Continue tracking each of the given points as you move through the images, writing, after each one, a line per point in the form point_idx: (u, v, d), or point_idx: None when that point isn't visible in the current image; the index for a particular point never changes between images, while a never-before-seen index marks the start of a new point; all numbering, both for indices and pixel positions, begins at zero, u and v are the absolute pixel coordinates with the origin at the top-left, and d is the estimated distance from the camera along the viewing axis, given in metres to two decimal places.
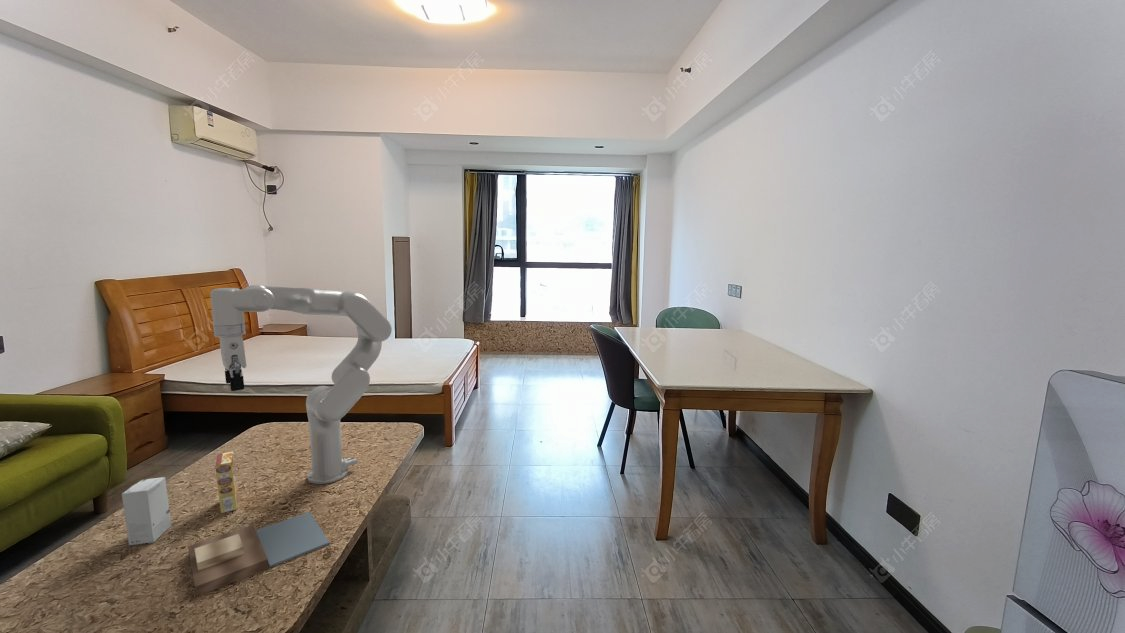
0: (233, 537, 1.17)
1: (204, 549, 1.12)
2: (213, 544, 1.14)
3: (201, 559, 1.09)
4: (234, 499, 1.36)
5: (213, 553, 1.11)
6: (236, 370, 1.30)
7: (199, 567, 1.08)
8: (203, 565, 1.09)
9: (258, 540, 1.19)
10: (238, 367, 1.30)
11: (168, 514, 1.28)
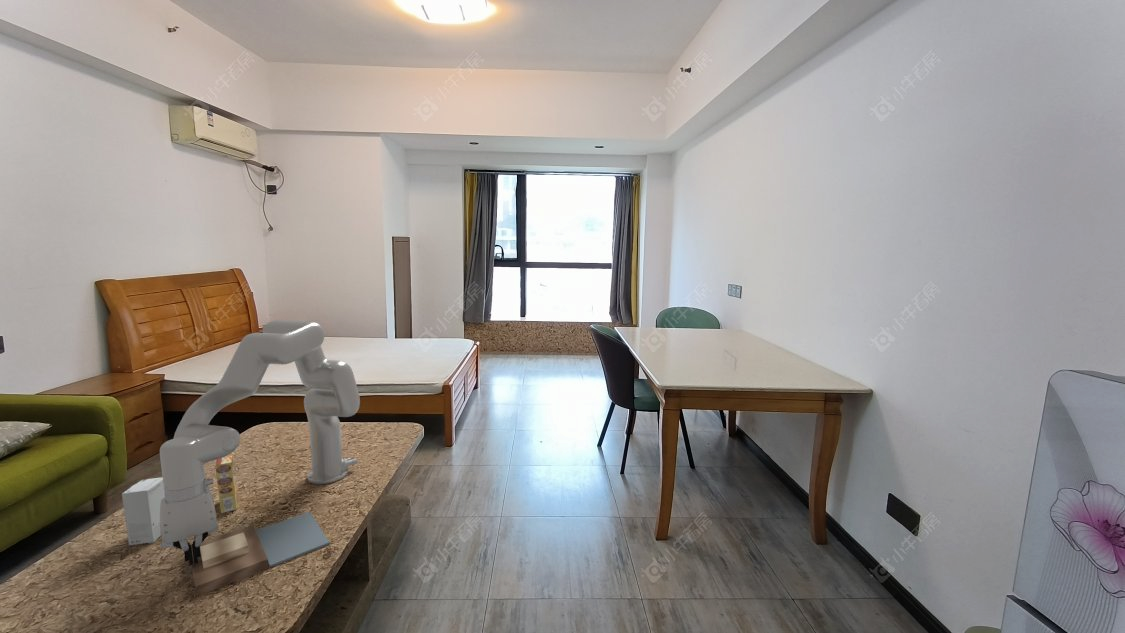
0: (238, 536, 1.18)
1: (209, 548, 1.13)
2: (218, 543, 1.15)
3: (207, 557, 1.10)
4: (234, 499, 1.36)
5: (218, 551, 1.12)
6: None
7: (204, 565, 1.09)
8: (208, 563, 1.09)
9: (258, 540, 1.19)
10: None
11: None
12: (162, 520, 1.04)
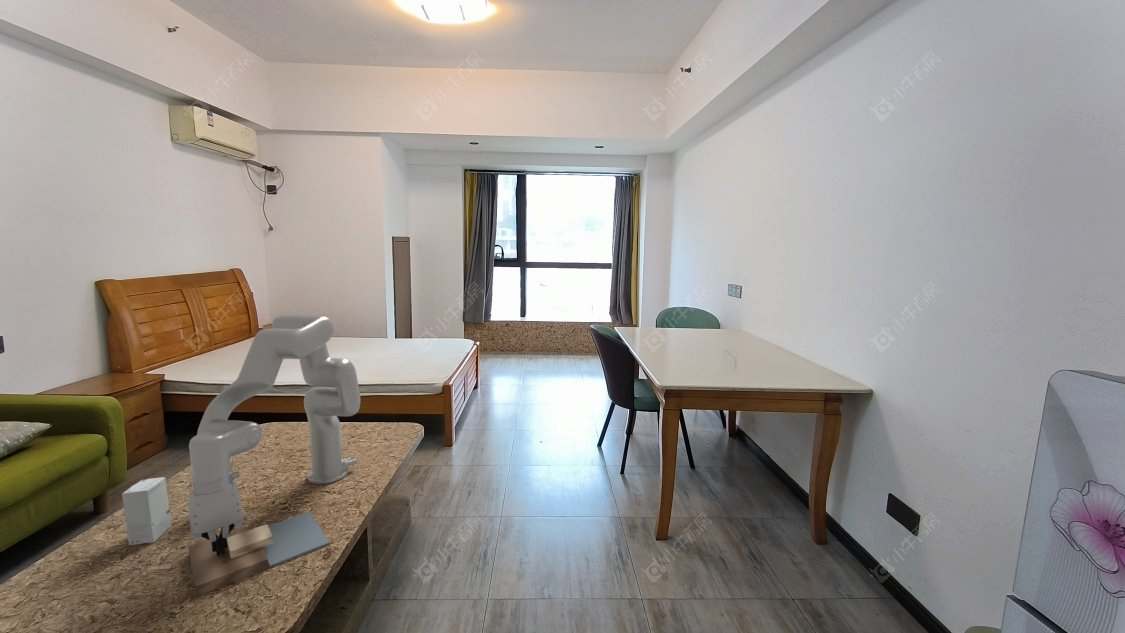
0: (262, 527, 1.21)
1: (235, 539, 1.17)
2: (244, 534, 1.18)
3: (233, 548, 1.13)
4: None
5: (244, 542, 1.15)
6: None
7: (232, 555, 1.12)
8: (235, 553, 1.13)
9: None
10: None
11: (168, 514, 1.28)
12: (191, 512, 1.07)
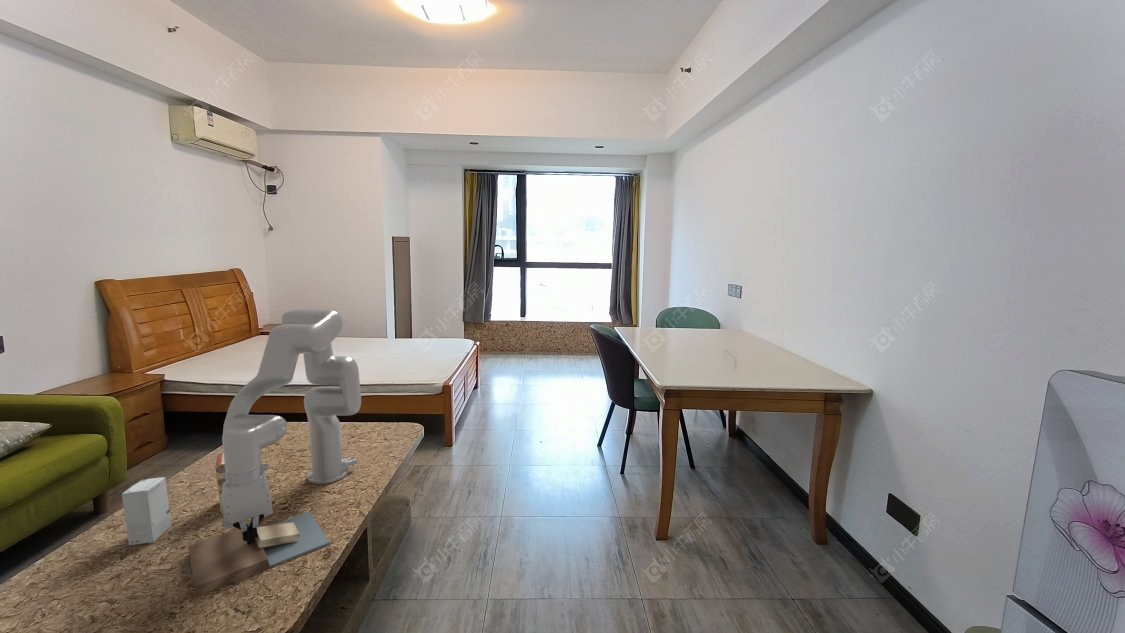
0: (289, 524, 1.26)
1: (264, 530, 1.21)
2: (272, 527, 1.23)
3: (263, 537, 1.17)
4: None
5: (273, 534, 1.19)
6: None
7: (260, 545, 1.16)
8: (264, 543, 1.17)
9: None
10: None
11: (168, 514, 1.28)
12: (224, 502, 1.11)
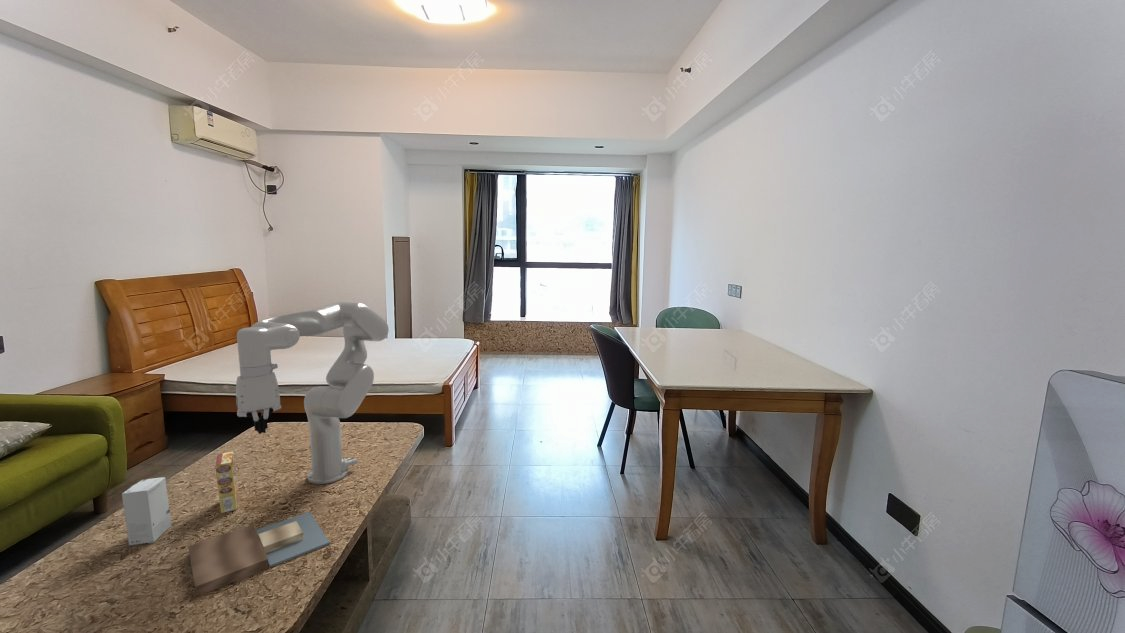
0: (292, 524, 1.26)
1: (267, 535, 1.21)
2: (275, 531, 1.23)
3: (266, 543, 1.18)
4: (234, 499, 1.36)
5: (276, 538, 1.20)
6: None
7: (265, 551, 1.17)
8: (268, 549, 1.18)
9: (258, 540, 1.19)
10: None
11: (168, 514, 1.28)
12: (239, 392, 1.26)
